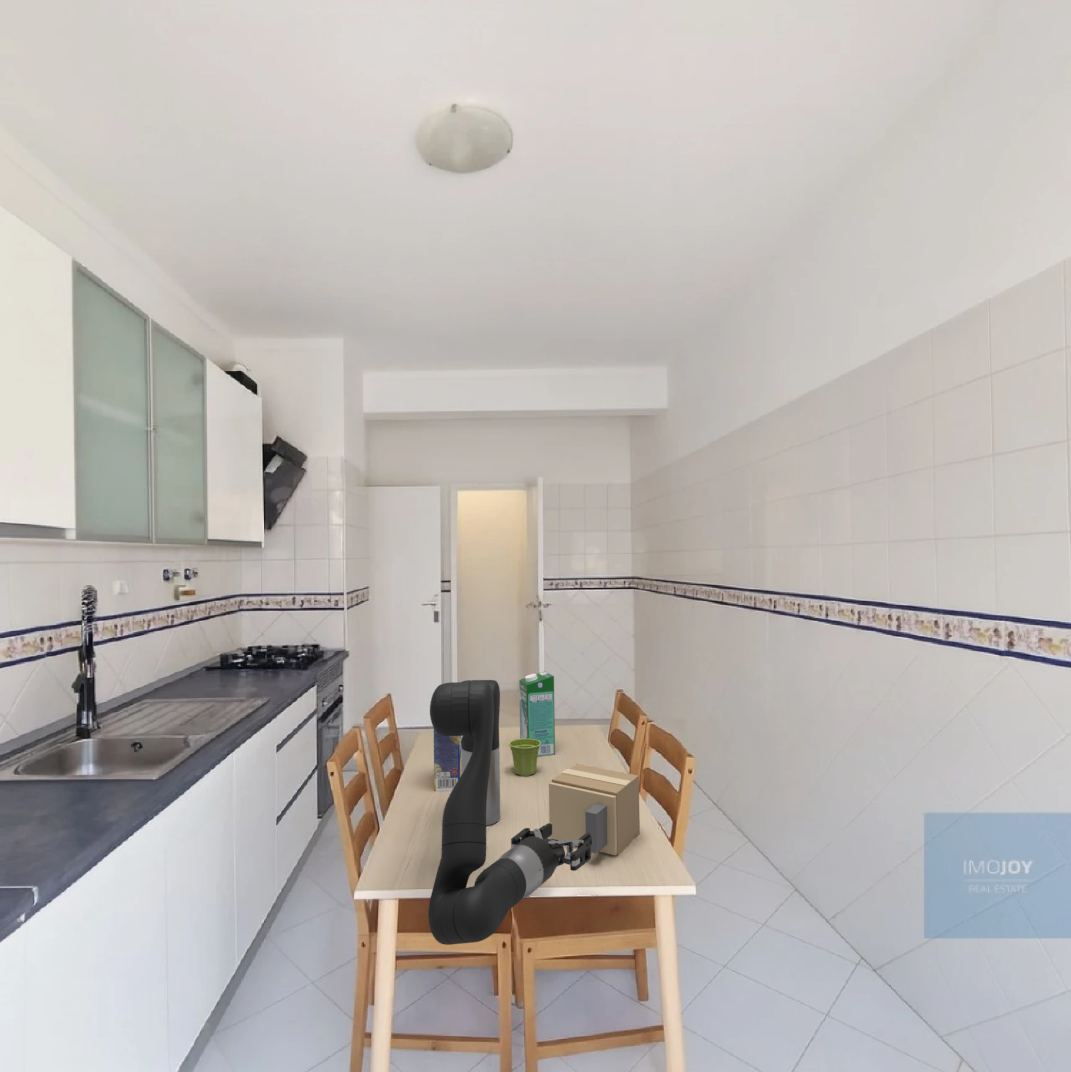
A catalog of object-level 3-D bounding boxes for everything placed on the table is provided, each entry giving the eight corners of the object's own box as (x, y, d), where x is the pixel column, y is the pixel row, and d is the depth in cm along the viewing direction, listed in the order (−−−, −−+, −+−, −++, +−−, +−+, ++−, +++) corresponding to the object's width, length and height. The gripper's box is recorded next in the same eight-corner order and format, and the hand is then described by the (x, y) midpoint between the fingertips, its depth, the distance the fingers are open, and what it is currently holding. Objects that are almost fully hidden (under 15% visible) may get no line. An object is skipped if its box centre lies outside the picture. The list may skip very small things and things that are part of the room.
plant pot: (508, 767, 186) (508, 738, 186) (540, 766, 187) (539, 737, 187) (509, 779, 177) (509, 748, 177) (542, 777, 178) (542, 747, 178)
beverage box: (461, 776, 180) (461, 699, 180) (459, 790, 169) (458, 708, 169) (437, 776, 179) (437, 700, 180) (434, 791, 168) (433, 709, 169)
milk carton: (520, 749, 204) (519, 672, 205) (546, 746, 207) (545, 670, 207) (528, 757, 195) (527, 677, 196) (555, 754, 198) (554, 675, 199)
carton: (552, 837, 140) (551, 778, 140) (577, 818, 150) (576, 763, 151) (617, 855, 131) (617, 792, 132) (639, 833, 142) (638, 774, 142)
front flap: (537, 847, 135) (537, 790, 135) (551, 836, 140) (551, 782, 140) (604, 865, 126) (603, 805, 126) (617, 853, 131) (616, 796, 132)
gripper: (559, 856, 103) (602, 821, 116) (489, 837, 110) (537, 806, 124) (560, 902, 102) (603, 862, 116) (490, 880, 110) (538, 844, 124)
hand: (569, 833), depth 120 cm, fingers open, 8 cm apart
